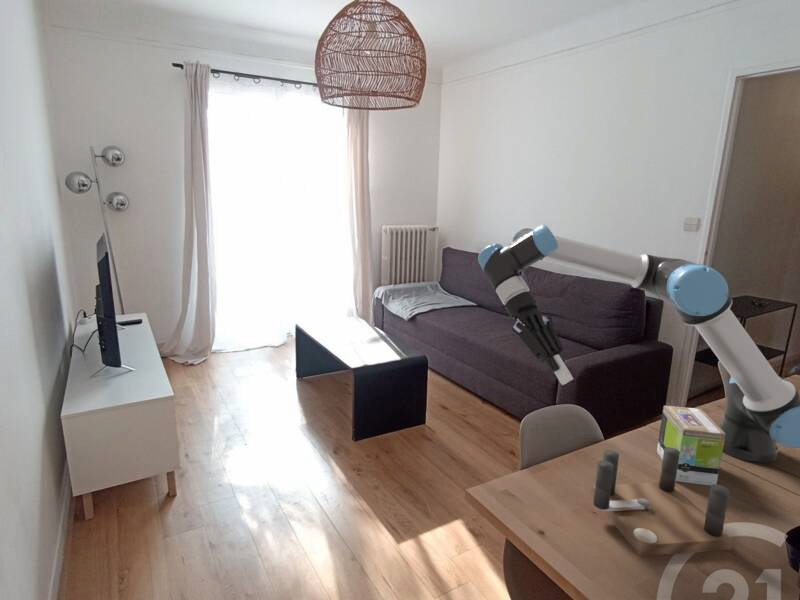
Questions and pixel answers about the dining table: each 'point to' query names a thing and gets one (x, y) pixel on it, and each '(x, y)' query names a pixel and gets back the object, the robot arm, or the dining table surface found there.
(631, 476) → the dining table surface
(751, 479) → the dining table surface
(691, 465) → the tea box
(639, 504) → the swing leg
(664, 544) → the stool seat
